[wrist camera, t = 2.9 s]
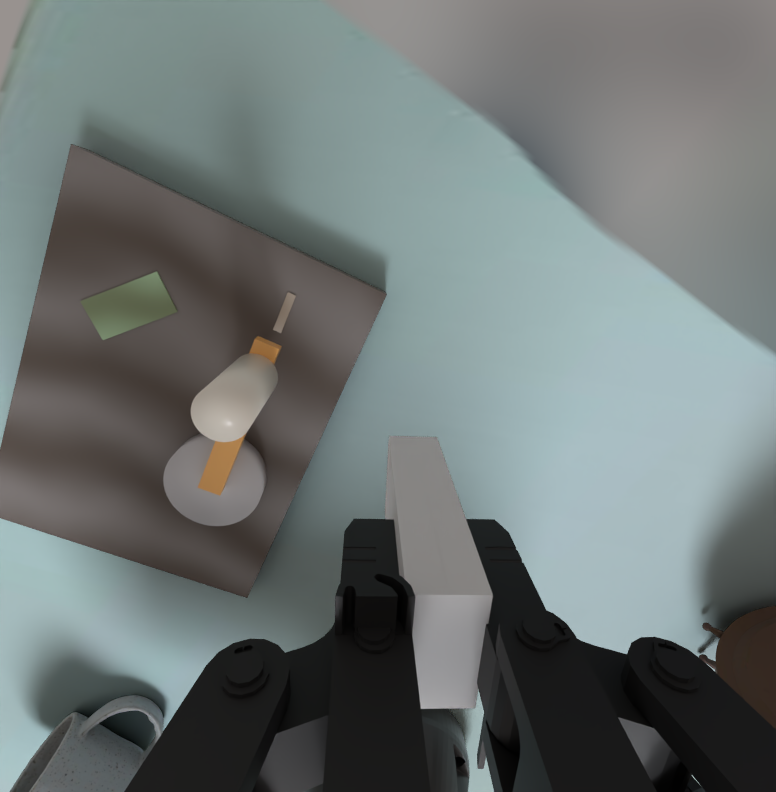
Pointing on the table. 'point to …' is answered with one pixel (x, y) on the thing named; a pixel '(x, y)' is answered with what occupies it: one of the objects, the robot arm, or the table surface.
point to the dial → (224, 443)
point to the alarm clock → (749, 659)
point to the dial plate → (166, 369)
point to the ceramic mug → (89, 752)
